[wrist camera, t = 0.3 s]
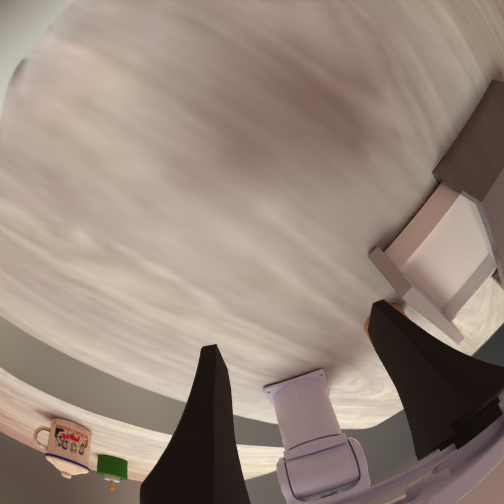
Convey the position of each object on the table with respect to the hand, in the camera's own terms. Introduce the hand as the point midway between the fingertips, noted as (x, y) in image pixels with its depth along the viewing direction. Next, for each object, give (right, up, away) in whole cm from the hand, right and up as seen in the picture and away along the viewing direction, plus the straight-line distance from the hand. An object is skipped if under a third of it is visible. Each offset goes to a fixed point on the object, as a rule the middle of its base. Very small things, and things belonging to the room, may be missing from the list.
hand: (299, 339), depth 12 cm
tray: (+19, +4, +13) cm, 23 cm away
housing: (+25, +11, +9) cm, 29 cm away
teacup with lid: (-38, -29, +24) cm, 54 cm away
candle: (-39, -51, +38) cm, 74 cm away
